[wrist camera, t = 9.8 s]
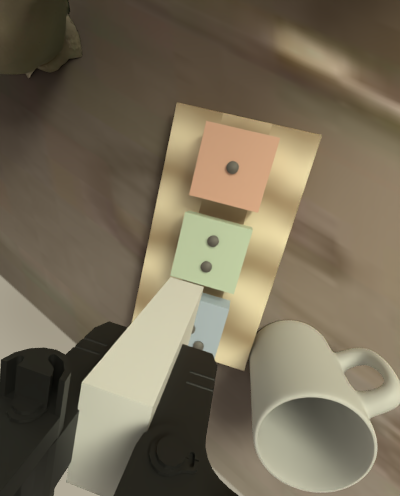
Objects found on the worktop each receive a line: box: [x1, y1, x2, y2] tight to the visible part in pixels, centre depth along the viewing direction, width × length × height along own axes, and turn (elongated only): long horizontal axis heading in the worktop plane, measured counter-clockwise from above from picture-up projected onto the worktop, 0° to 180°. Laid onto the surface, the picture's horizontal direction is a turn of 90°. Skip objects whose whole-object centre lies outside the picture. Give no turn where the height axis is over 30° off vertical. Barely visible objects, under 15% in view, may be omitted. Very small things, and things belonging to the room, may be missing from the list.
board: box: [132, 103, 322, 371], centre depth 27 cm, size 24×13×2 cm, turn 166°
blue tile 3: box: [188, 292, 230, 359], centre depth 27 cm, size 6×6×4 cm
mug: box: [249, 320, 400, 493], centre depth 24 cm, size 12×8×11 cm
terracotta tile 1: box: [189, 121, 280, 213], centre depth 24 cm, size 6×6×4 cm
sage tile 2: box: [170, 211, 253, 294], centre depth 26 cm, size 6×6×4 cm
